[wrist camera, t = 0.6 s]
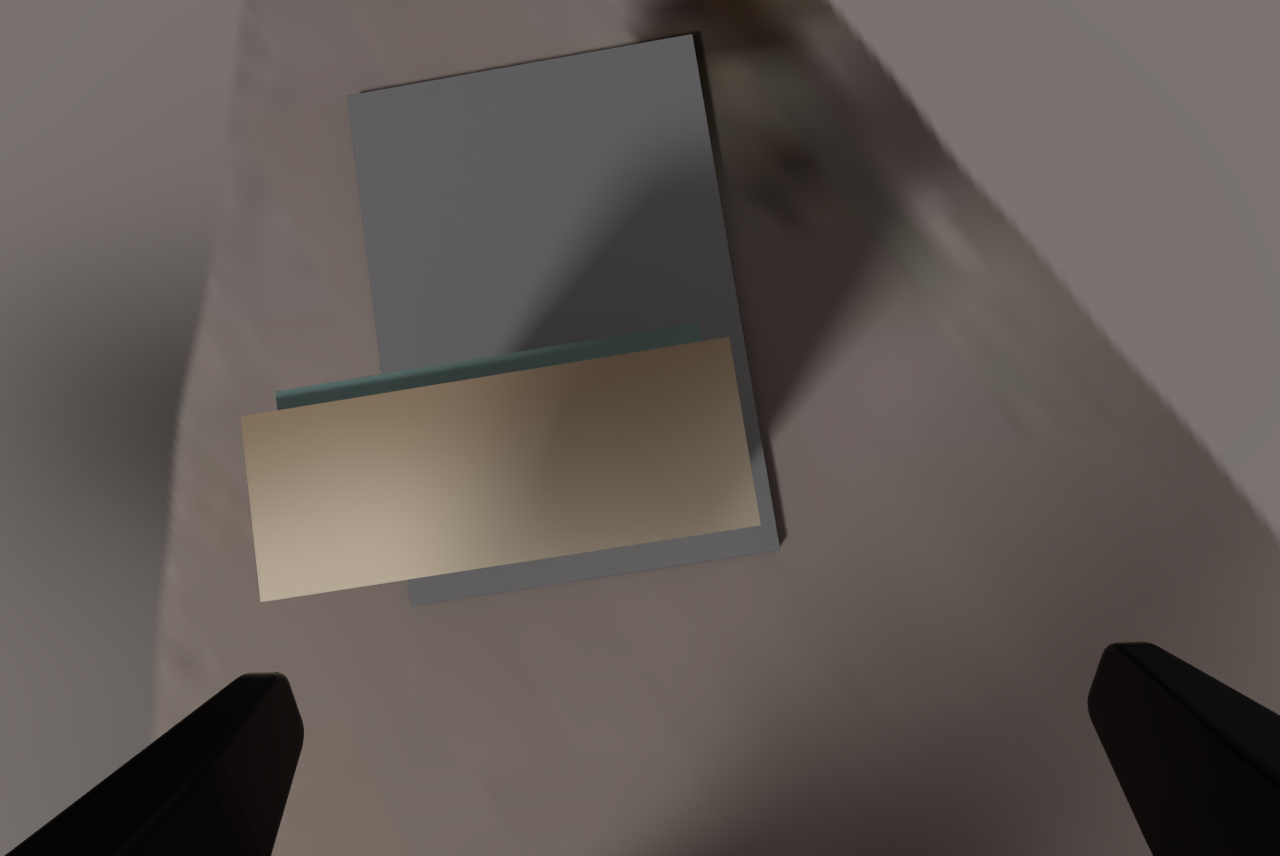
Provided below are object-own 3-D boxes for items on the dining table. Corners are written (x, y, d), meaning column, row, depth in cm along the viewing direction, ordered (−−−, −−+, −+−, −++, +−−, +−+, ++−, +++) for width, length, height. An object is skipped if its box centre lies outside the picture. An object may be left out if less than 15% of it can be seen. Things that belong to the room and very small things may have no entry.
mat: (778, 548, 21) (780, 549, 21) (415, 604, 22) (410, 606, 21) (691, 42, 23) (691, 34, 22) (352, 102, 23) (346, 95, 23)
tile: (720, 506, 21) (760, 525, 11) (453, 547, 21) (260, 601, 11) (701, 393, 21) (724, 312, 11) (439, 434, 22) (238, 392, 12)
